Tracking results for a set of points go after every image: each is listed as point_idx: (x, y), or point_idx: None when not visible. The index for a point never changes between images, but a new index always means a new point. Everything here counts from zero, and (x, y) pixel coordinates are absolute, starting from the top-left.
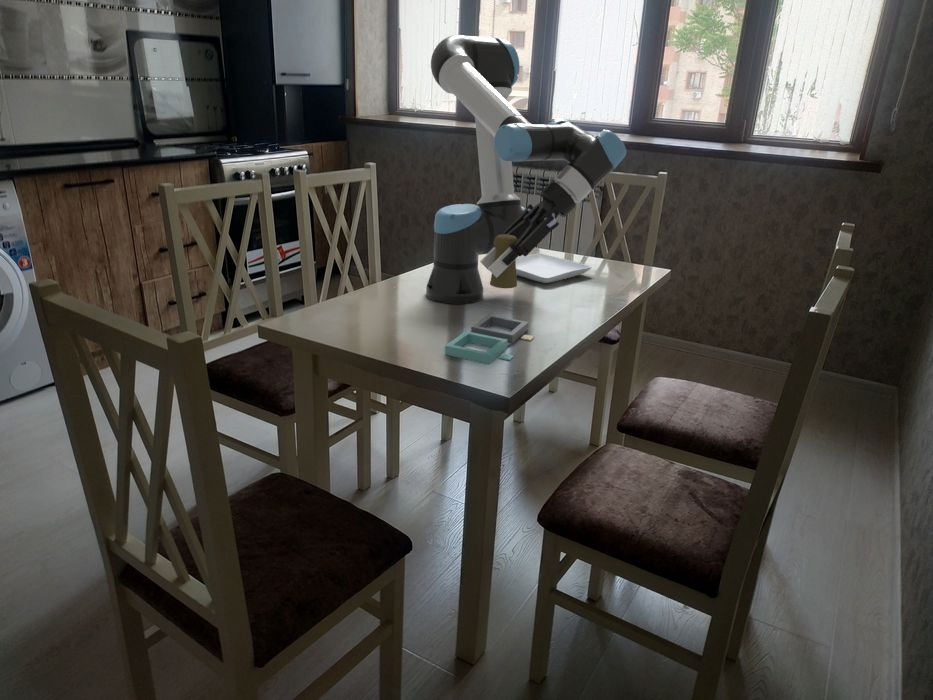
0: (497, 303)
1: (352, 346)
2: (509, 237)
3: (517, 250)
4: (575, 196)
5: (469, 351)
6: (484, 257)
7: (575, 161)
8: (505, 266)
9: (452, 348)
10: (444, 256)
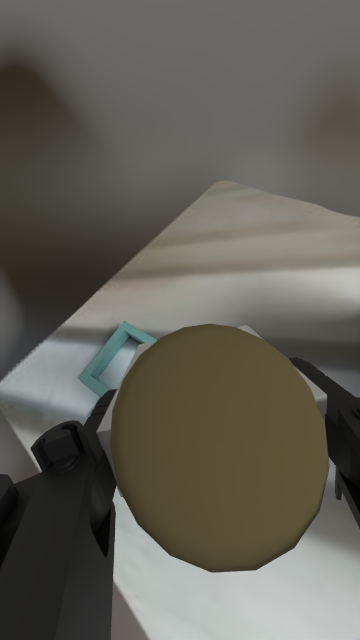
0: None
1: (164, 241)
2: (139, 436)
3: (27, 479)
4: None
5: (100, 351)
6: (251, 333)
7: None
8: None
9: (117, 330)
10: None
